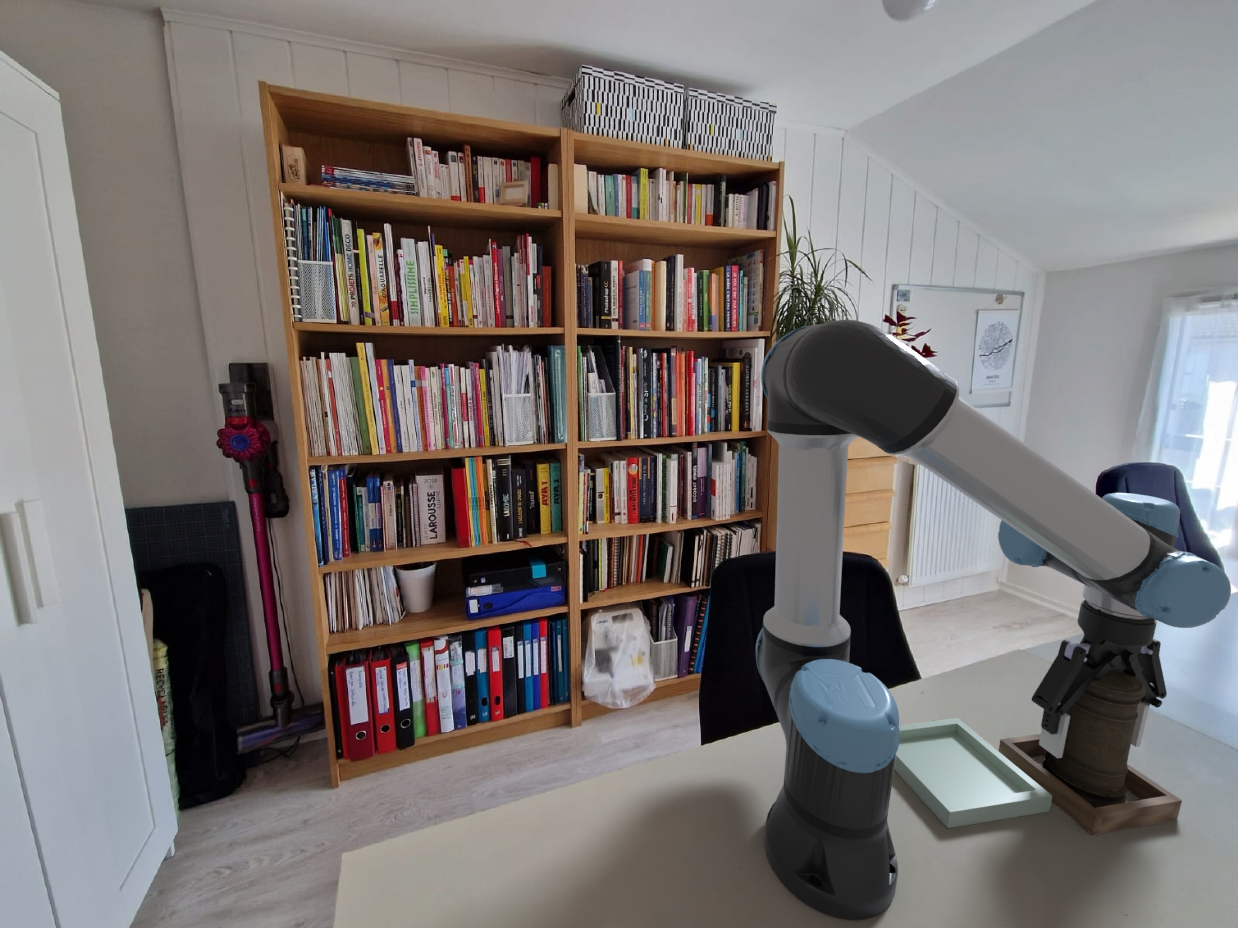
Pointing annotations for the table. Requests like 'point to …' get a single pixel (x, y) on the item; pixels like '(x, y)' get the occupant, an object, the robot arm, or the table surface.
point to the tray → (964, 775)
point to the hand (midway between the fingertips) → (1089, 745)
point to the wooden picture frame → (1095, 820)
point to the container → (1099, 740)
